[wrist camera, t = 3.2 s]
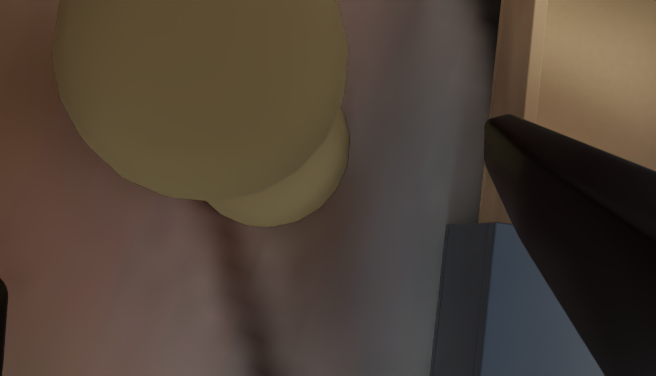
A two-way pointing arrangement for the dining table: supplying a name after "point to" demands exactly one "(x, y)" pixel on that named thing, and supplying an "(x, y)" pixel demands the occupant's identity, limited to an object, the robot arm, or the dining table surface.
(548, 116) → the drawer
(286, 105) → the pawn game piece
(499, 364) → the cabinet
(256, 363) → the dining table surface
